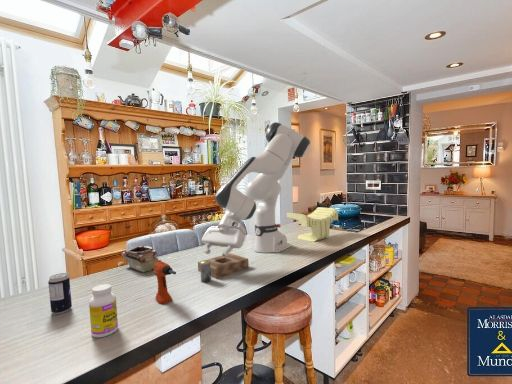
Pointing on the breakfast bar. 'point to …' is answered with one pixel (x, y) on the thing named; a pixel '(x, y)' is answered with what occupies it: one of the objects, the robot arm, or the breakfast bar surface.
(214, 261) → the chuck block
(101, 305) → the supplement bottle
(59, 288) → the beverage can
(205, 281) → the key peg
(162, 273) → the toy drill
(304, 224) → the slatted curved stool
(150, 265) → the decorative box
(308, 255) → the breakfast bar surface
